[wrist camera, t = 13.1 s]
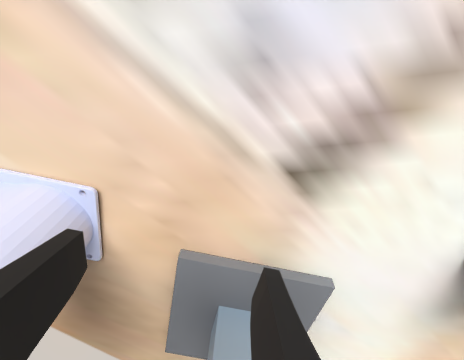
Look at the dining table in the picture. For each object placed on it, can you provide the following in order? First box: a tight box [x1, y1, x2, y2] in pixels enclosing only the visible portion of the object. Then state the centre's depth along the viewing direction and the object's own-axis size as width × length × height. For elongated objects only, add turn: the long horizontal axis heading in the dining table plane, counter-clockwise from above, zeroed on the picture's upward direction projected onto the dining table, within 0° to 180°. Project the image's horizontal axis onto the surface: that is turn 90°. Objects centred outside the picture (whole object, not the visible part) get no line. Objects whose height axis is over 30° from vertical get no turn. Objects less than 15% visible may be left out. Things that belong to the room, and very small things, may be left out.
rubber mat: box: [165, 249, 335, 359], centre depth 27 cm, size 14×16×1 cm
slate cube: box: [207, 306, 251, 360], centre depth 24 cm, size 5×5×5 cm
